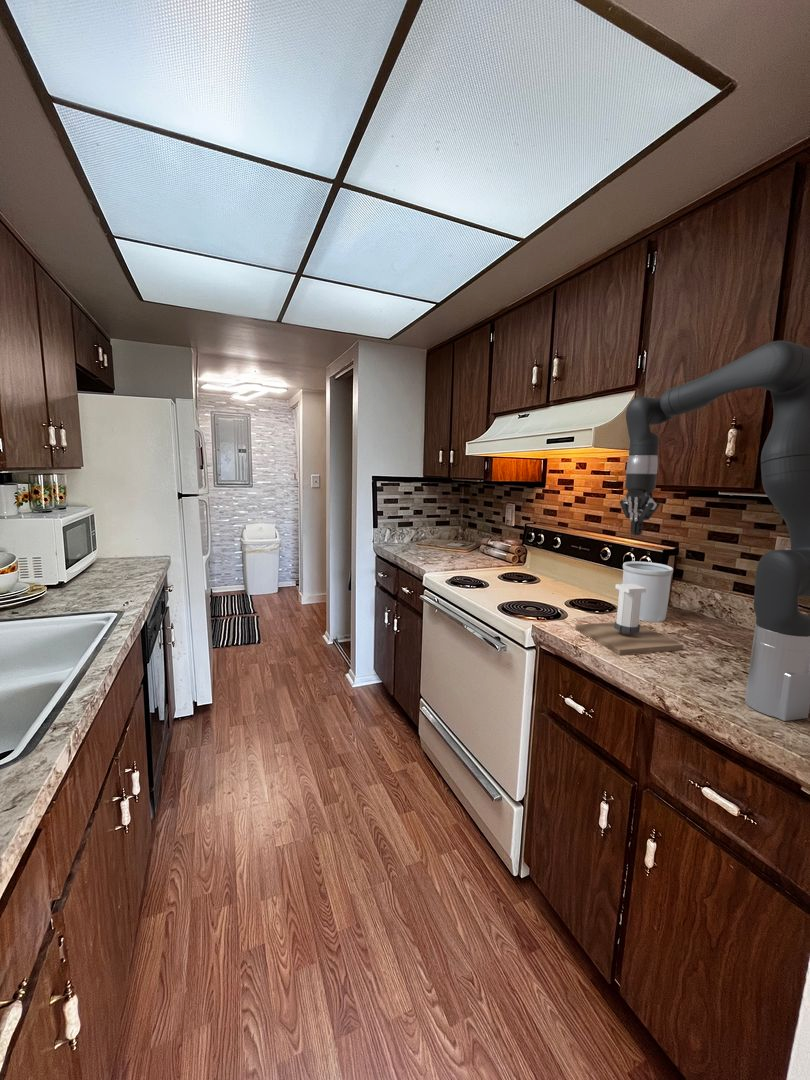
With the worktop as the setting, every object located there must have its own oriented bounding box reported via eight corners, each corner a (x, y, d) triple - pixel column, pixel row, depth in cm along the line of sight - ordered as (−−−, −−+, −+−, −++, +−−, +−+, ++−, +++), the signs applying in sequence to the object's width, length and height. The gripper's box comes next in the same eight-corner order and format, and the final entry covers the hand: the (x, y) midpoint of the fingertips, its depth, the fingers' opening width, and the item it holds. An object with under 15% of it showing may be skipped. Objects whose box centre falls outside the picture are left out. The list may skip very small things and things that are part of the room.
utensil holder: (673, 625, 143) (679, 571, 141) (623, 620, 147) (627, 568, 144) (661, 611, 157) (666, 563, 155) (615, 607, 161) (619, 560, 159)
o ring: (644, 632, 127) (644, 626, 127) (624, 633, 126) (625, 628, 126) (628, 624, 134) (629, 619, 133) (609, 626, 132) (610, 620, 132)
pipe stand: (682, 649, 123) (688, 600, 121) (619, 655, 118) (623, 604, 116) (631, 625, 142) (635, 582, 140) (575, 629, 138) (578, 585, 136)
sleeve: (642, 626, 127) (646, 588, 126) (625, 627, 126) (629, 589, 125) (628, 620, 133) (632, 583, 131) (612, 621, 132) (615, 584, 130)
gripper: (671, 472, 117) (665, 537, 120) (635, 472, 130) (630, 531, 133) (647, 472, 116) (641, 538, 118) (613, 472, 129) (608, 531, 131)
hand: (635, 534), depth 126 cm, fingers closed
